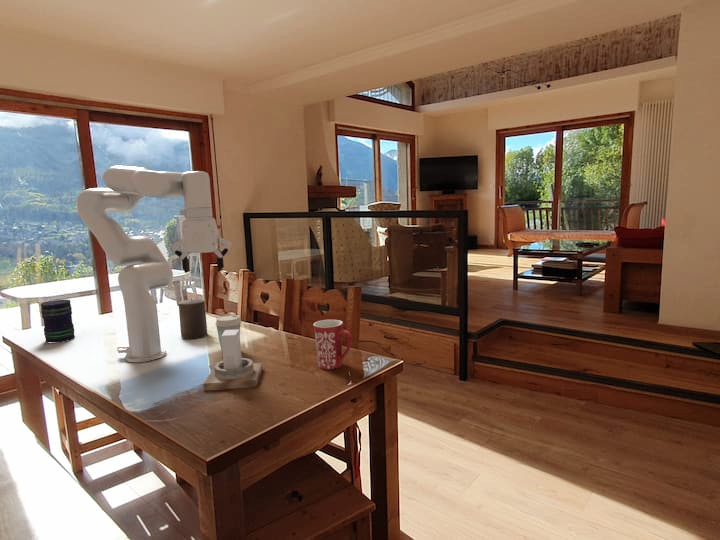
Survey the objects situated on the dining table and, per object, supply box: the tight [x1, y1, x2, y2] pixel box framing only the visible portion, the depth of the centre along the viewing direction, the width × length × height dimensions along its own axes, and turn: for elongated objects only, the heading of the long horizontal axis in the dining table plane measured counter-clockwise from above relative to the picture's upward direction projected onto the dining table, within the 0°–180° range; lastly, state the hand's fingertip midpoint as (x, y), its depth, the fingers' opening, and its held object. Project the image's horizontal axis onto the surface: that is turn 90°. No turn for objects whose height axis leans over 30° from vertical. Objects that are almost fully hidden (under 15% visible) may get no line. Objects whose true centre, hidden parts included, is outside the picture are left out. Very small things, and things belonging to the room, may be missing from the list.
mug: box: [312, 319, 353, 370], centre depth 137 cm, size 13×9×14 cm
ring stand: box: [203, 357, 263, 392], centre depth 130 cm, size 14×14×4 cm
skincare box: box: [221, 329, 243, 370], centre depth 129 cm, size 6×4×12 cm
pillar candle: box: [178, 298, 208, 340], centre depth 176 cm, size 10×10×15 cm
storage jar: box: [40, 299, 76, 343], centre depth 176 cm, size 10×10×15 cm
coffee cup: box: [214, 314, 242, 354], centre depth 155 cm, size 9×8×12 cm
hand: (203, 271), depth 136 cm, fingers open, 9 cm apart
